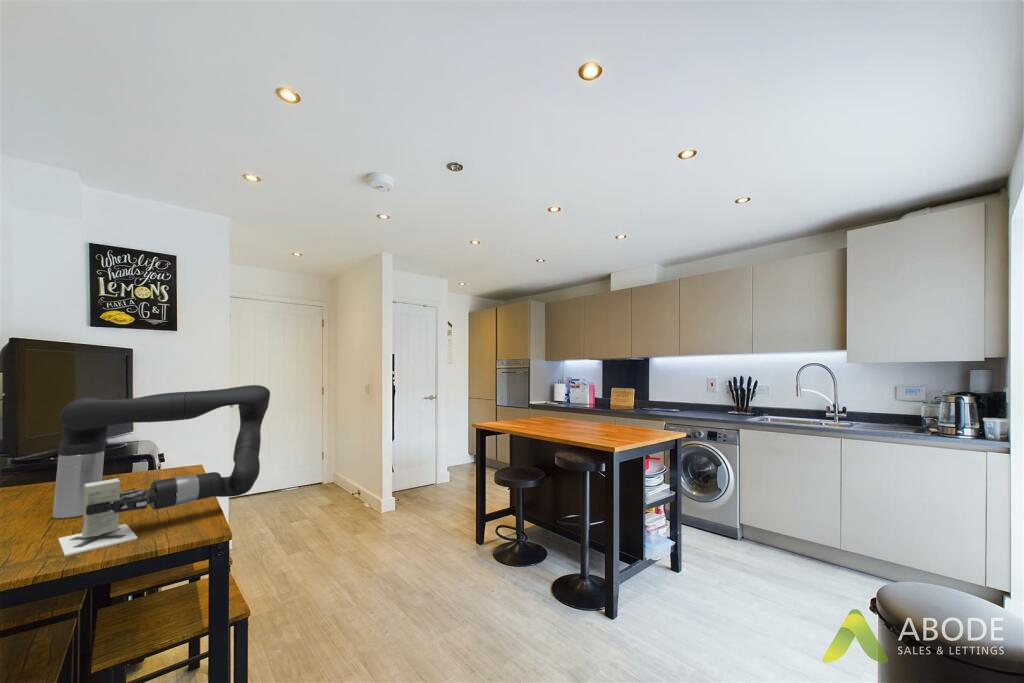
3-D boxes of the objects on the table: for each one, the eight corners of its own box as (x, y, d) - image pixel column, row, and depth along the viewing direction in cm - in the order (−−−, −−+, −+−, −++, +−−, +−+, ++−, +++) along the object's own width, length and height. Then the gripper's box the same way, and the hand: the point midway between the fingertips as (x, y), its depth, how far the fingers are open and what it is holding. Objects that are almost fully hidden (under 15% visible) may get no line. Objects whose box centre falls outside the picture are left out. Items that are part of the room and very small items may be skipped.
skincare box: (116, 526, 102) (119, 477, 103) (118, 530, 99) (122, 480, 100) (79, 534, 97) (83, 482, 98) (81, 538, 94) (85, 486, 95)
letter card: (58, 539, 97) (58, 537, 97) (125, 525, 107) (125, 523, 107) (64, 556, 89) (65, 554, 89) (137, 538, 98) (137, 536, 98)
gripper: (169, 473, 114) (82, 487, 101) (183, 482, 106) (90, 498, 92) (167, 500, 114) (79, 517, 100) (181, 511, 105) (88, 531, 92)
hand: (85, 508), depth 96 cm, fingers closed on skincare box, 4 cm apart
